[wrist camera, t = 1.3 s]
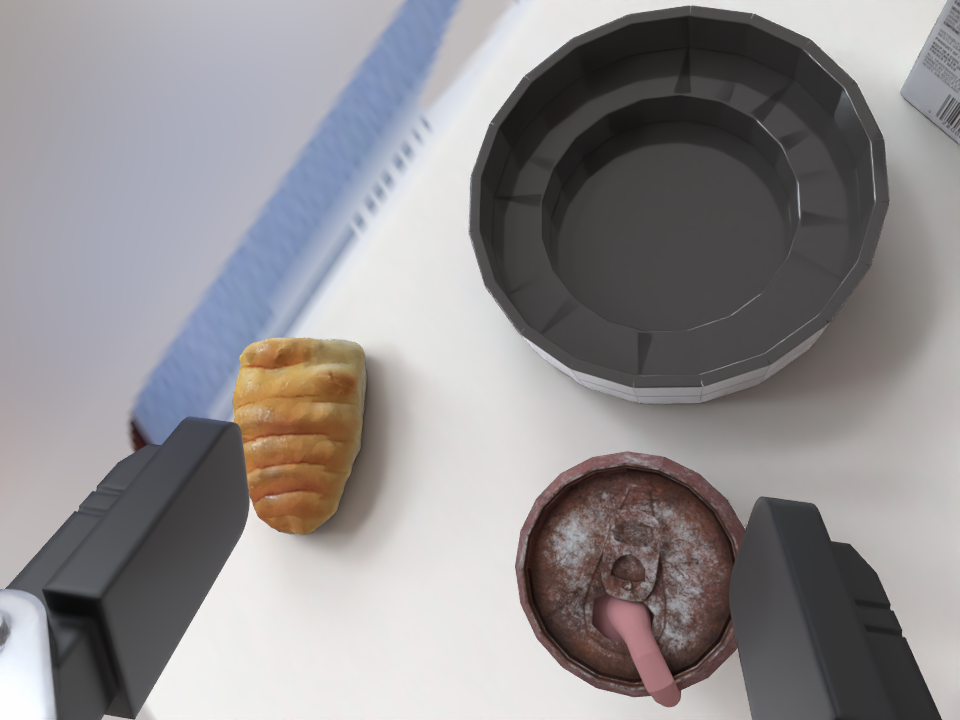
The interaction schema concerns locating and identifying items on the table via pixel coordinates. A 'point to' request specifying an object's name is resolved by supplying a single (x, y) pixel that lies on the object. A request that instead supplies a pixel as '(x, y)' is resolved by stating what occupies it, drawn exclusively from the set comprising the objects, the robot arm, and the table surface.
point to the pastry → (299, 426)
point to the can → (631, 574)
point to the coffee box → (939, 73)
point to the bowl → (678, 203)
